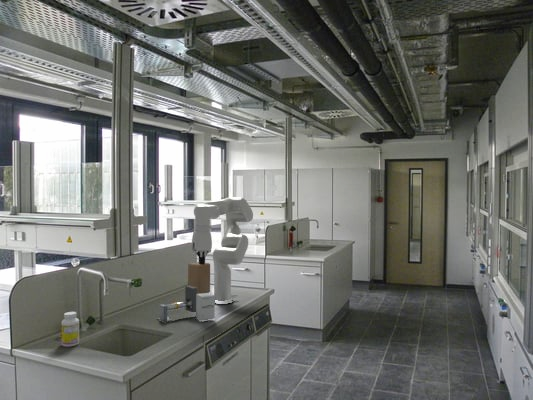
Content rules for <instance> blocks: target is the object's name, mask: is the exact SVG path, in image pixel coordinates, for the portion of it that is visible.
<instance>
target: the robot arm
mask: <svg viewBox="0 0 533 400" xmlns="http://www.w3.org/2000/svg"><path fill="white" fill-rule="evenodd" d="M253 212H254V211H253V209H252V208H251V206H250V204H249V203H248V202H247V200H246V199H245V197H244V198H243V197H234V196H233V197H230V196H228V197H226V198H223V199H219V200H213V201H206V202H201V203H199V204H197V205H196V206H195V207H194V209H193V216H194V231H193V233H192V236H191V237H192V239H191V250H192V254H193V255H194V254H195V255H197V257H198V262H199V264H201V265H204V264H205V263H206V257H207V255H208V254H209V253H211V252H212V260H213V267H214V270H213V271H214V272H213V274H214V277H213V278H214V279H213V280H214V281H213V282H214V285H213V287H214V289H213V295H215V300H218V301H225V300H229V299H231V298H232V299H234V298H237V297H238V296H239V295H238V293H234V294H233V293H232V270H231V268H230V266H229V265H233V266H238V265H240V264H241V263H242V262H243V260H244V257H245V255H246V252H247V250H248V248H249V237H248V236H247V235H245V234H241V231H242V230H241V228H240V226H239V225H238V224H237V223H249V222H251V221H253V218H254V213H253ZM223 215H225V218H226V219H225V220H226V221H225V222H226V230H225V232H224V234H223V237H222V238H221V243H220V245H221V247H220V246H219V247H216V248H215V249H214V250H213V251H212V248H213V240H212V232H211V230H212V226H210V225H211V224H210V220H217V219H218V218H220V216H223Z"/></svg>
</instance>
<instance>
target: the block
mask: <svg viewBox="0 0 533 400" xmlns="http://www.w3.org/2000/svg"><path fill="white" fill-rule="evenodd" d="M187 267H188V268H187V280H188V281H187V286H189V285H190V286H193V287H196V288H197V294H203V293H209V292H210V293H211V263H208V262H205V264H204V265H201V264H199V261H197V262H190V263H188V265H187Z"/></svg>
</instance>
